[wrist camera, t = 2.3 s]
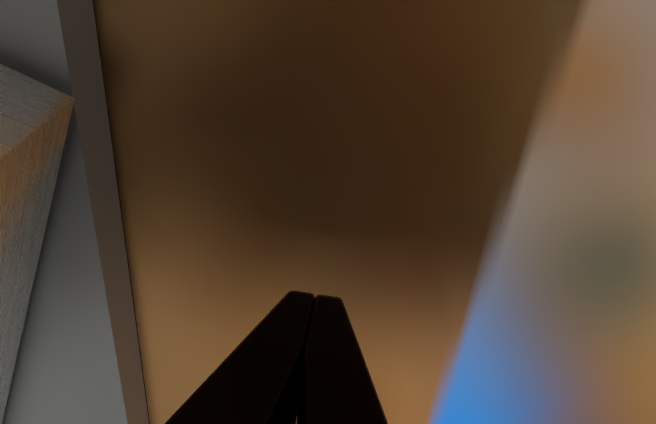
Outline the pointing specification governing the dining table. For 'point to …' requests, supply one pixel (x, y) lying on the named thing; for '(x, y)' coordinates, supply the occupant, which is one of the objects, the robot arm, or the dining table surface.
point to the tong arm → (24, 197)
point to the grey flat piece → (74, 239)
